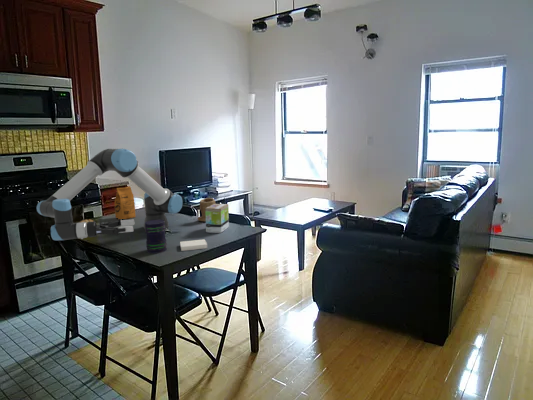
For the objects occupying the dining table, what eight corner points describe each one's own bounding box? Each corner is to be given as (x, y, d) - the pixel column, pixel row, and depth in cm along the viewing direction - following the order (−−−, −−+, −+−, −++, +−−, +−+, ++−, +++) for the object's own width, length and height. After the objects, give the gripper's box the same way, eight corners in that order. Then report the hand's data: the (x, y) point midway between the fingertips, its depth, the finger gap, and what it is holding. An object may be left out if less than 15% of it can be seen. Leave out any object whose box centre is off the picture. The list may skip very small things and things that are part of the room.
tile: (181, 247, 202) (207, 244, 205) (179, 241, 211) (204, 239, 214) (181, 251, 202) (207, 248, 205) (180, 246, 211) (205, 243, 215)
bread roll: (91, 229, 253) (89, 216, 252) (100, 233, 242) (99, 220, 241) (75, 232, 247) (73, 219, 245) (84, 236, 236) (82, 223, 234)
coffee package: (113, 219, 280) (110, 187, 276) (129, 215, 289) (127, 185, 286) (121, 220, 274) (118, 188, 270) (137, 217, 283) (134, 186, 279)
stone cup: (204, 223, 258) (202, 200, 255) (195, 220, 267) (194, 198, 265) (224, 220, 267) (223, 197, 264) (215, 217, 276) (214, 195, 274)
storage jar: (142, 252, 201) (140, 223, 198) (154, 246, 210) (152, 219, 207) (159, 254, 198) (157, 224, 195) (170, 248, 207) (168, 220, 204)
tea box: (222, 233, 234) (220, 208, 231) (205, 232, 236) (204, 208, 233) (229, 226, 248) (228, 203, 246) (214, 226, 250) (212, 203, 248)
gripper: (92, 230, 206) (135, 226, 211) (84, 244, 182) (133, 239, 187) (90, 216, 204) (134, 212, 210) (82, 228, 181) (131, 223, 186)
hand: (133, 225), depth 198 cm, fingers open, 13 cm apart
